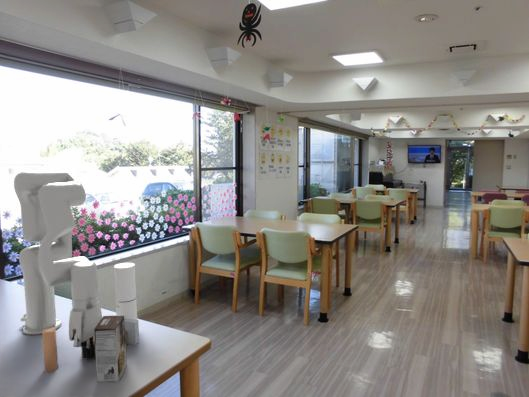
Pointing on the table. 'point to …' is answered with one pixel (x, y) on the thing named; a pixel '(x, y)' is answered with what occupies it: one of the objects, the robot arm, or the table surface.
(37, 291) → the robot arm
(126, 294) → the cylindrical container
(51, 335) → the peach rounded capsule
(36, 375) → the table surface
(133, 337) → the backstop wall
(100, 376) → the coffee box
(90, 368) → the table surface
